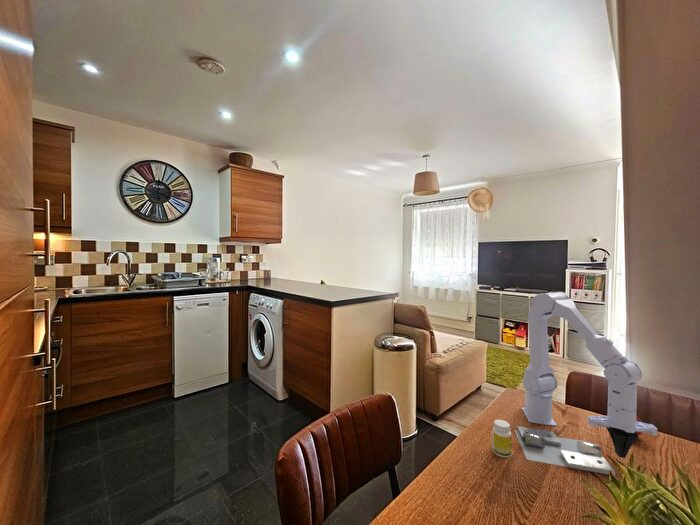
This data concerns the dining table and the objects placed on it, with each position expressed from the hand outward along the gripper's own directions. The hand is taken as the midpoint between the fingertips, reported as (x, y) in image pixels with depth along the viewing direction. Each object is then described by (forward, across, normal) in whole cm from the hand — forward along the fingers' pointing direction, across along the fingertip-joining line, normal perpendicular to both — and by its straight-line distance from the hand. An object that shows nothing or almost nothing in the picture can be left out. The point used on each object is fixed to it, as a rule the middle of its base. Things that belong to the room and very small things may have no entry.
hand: (620, 455), depth 80 cm
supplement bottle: (+2, -30, -6) cm, 31 cm away
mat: (+2, -14, 0) cm, 14 cm away
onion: (+2, +10, +14) cm, 18 cm away
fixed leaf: (+1, -19, +3) cm, 19 cm away
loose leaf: (+1, -10, -3) cm, 10 cm away
